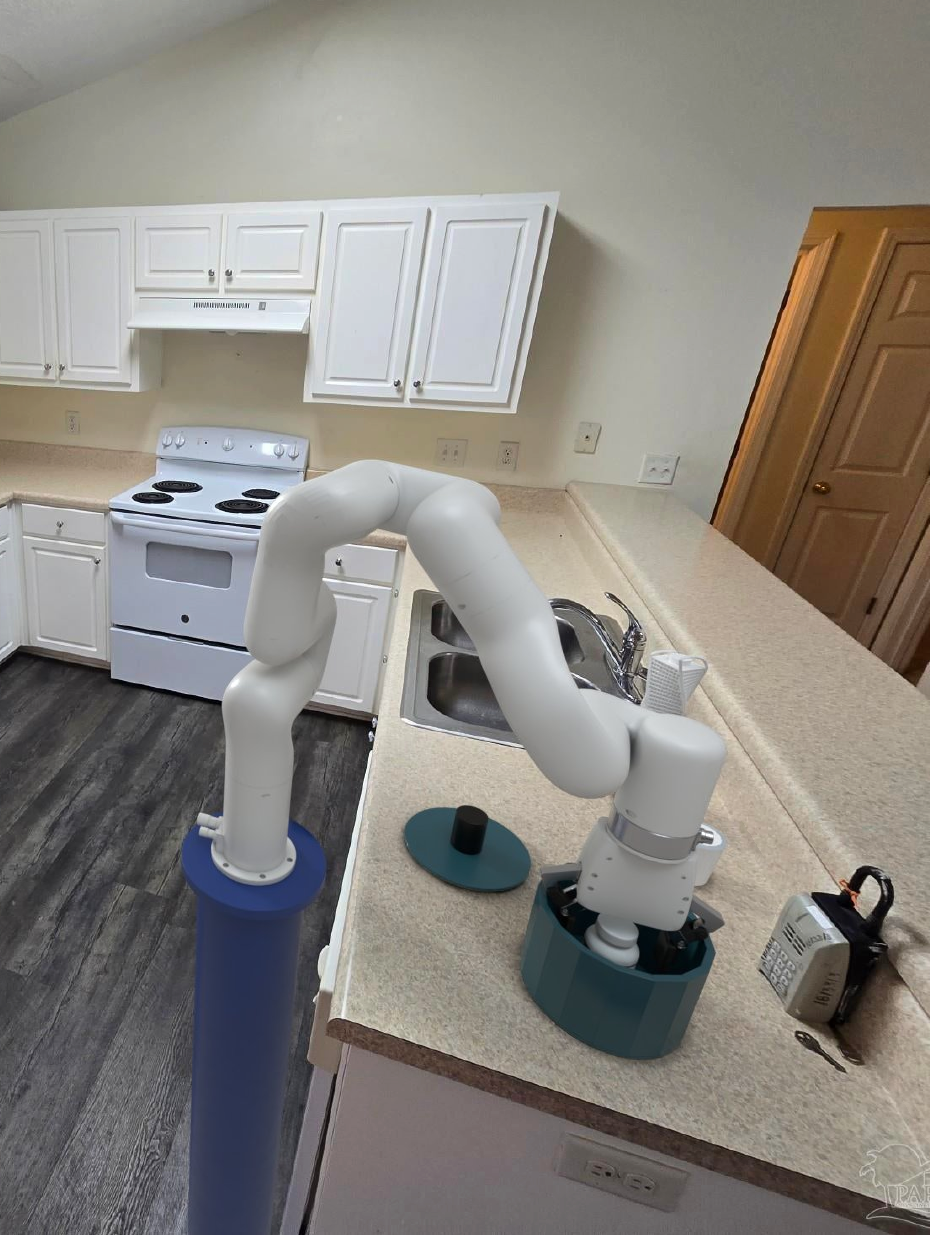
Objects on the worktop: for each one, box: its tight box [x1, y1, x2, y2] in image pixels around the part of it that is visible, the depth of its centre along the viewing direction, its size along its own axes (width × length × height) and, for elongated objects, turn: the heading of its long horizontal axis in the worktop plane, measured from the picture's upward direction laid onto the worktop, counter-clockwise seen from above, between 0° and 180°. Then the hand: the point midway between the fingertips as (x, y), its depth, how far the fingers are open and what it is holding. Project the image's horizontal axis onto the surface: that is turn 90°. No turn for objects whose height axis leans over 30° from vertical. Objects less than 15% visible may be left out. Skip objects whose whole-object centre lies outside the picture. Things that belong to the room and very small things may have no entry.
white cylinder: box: [694, 822, 729, 887], centre depth 98 cm, size 7×7×7 cm
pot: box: [519, 862, 717, 1061], centre depth 79 cm, size 17×17×12 cm
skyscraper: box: [639, 648, 709, 717], centre depth 109 cm, size 8×8×28 cm
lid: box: [403, 804, 532, 893], centre depth 102 cm, size 17×17×7 cm
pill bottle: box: [582, 913, 639, 970], centre depth 79 cm, size 5×5×10 cm
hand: (610, 949), depth 79 cm, fingers open, 9 cm apart
